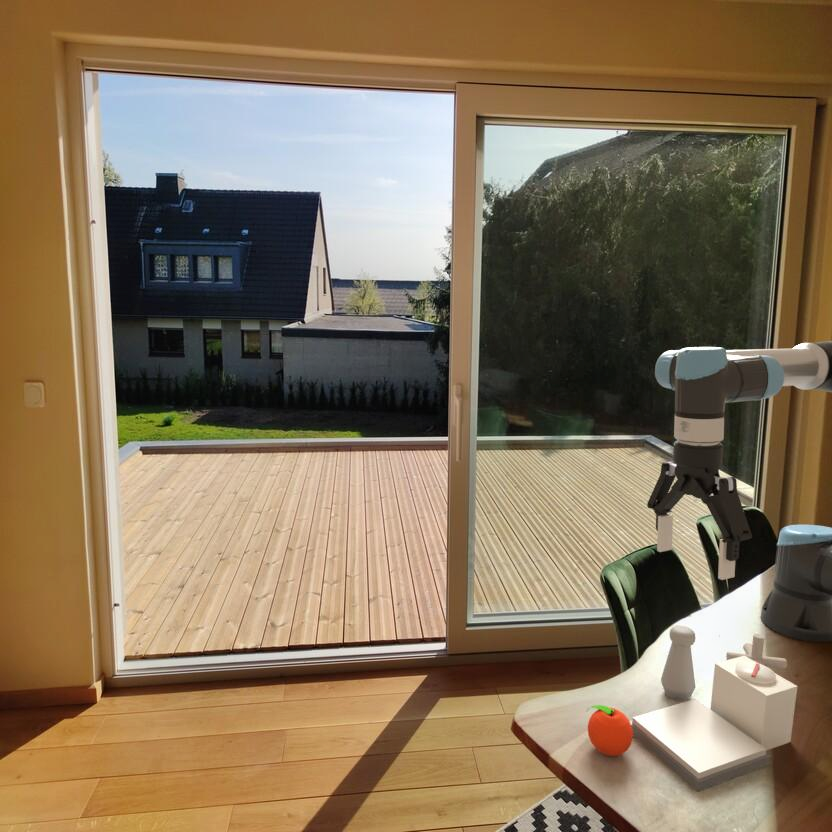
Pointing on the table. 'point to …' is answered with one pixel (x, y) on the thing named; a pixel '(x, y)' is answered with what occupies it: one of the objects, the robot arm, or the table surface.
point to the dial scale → (723, 725)
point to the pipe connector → (759, 654)
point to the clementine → (610, 731)
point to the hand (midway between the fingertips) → (693, 563)
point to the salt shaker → (679, 665)
